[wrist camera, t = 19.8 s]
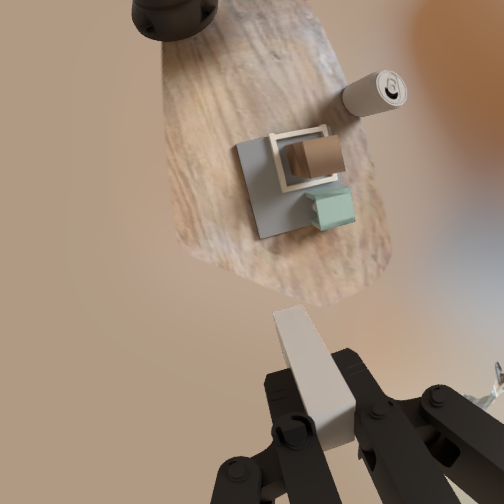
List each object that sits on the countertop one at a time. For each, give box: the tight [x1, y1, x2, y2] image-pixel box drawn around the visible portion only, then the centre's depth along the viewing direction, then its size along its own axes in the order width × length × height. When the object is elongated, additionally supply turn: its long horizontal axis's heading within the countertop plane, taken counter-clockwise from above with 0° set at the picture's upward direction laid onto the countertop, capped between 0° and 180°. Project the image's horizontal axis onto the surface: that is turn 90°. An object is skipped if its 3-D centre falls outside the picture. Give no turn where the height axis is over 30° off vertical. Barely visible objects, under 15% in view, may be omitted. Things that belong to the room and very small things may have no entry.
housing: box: [305, 185, 356, 231], centre depth 44 cm, size 6×6×5 cm
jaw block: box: [285, 135, 346, 179], centre depth 39 cm, size 5×5×10 cm
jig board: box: [236, 124, 343, 239], centre depth 44 cm, size 16×16×3 cm
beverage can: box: [342, 70, 407, 117], centre depth 36 cm, size 6×6×12 cm
